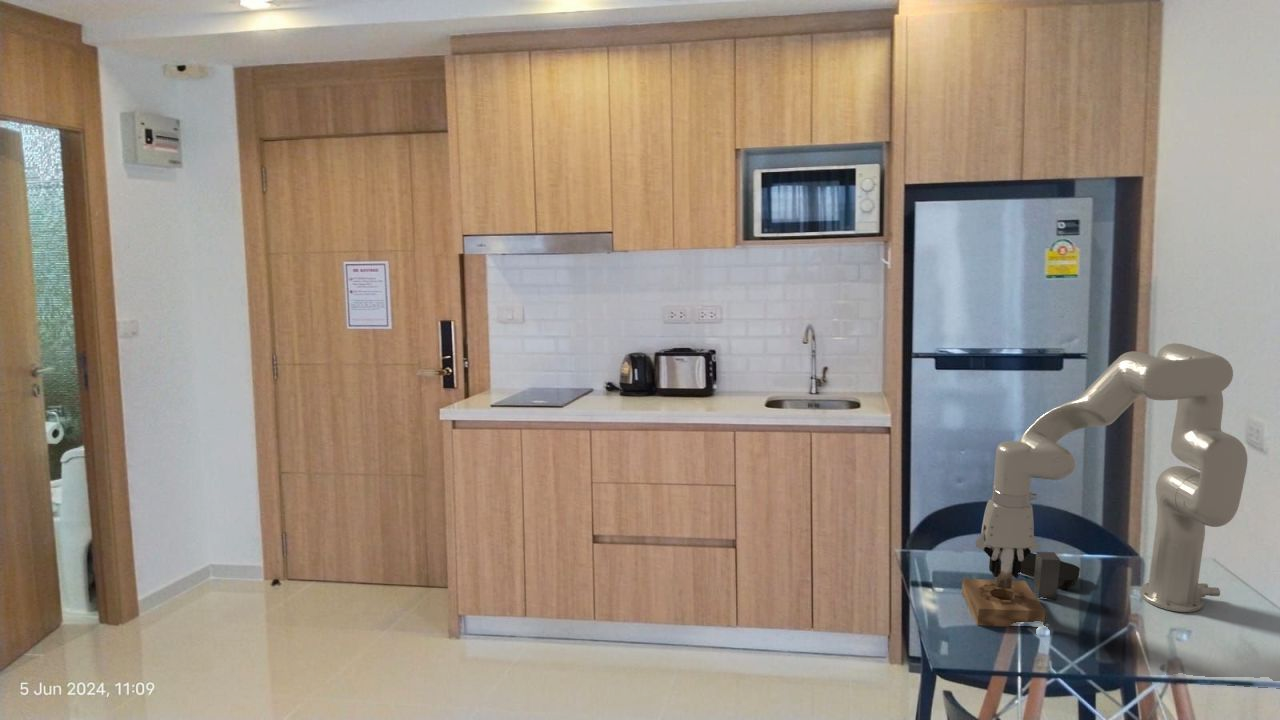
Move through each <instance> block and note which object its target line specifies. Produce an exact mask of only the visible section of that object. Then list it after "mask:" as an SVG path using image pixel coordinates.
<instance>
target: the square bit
mask: <svg viewBox="0 0 1280 720" xmlns="http://www.w3.org/2000/svg"><path fill="white" fill-rule="evenodd" d="M1035 554H1036V562H1035V572H1034V580H1033V585H1032V590H1033V589H1034V591H1035V593H1036V594H1037V596H1038V598H1040V597H1043V598H1047V599H1050V600H1049V601H1052V600H1051V599H1056V600H1057V597H1058V589H1059V588H1058V579H1059V569H1060V561H1061V559H1060V558H1059V557H1058V555H1057V554H1056V552H1055V551H1054V552H1052V551H1036V553H1035ZM1037 596H1036V597H1037ZM1038 598H1037V599H1038Z"/></svg>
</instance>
